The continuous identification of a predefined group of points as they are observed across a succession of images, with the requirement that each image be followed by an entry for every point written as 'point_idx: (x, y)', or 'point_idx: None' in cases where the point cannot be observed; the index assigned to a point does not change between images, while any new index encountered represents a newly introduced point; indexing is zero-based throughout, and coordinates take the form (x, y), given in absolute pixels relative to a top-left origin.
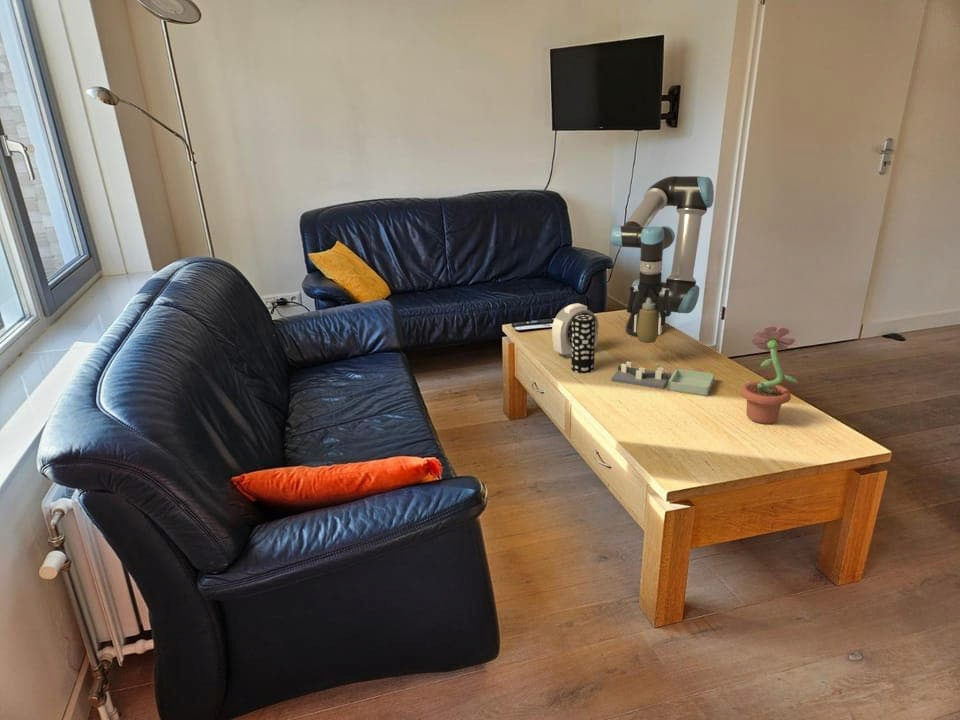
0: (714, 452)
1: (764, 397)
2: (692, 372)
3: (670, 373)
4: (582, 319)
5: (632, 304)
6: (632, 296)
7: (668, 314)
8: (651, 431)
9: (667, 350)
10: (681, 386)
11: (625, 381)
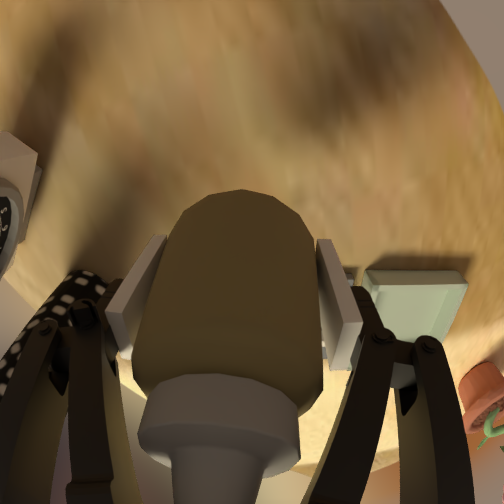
0: (388, 450)
1: (478, 431)
2: (417, 288)
3: (352, 282)
4: None
5: (47, 388)
6: (43, 490)
7: (411, 391)
8: (317, 450)
9: (301, 10)
10: None
11: None
